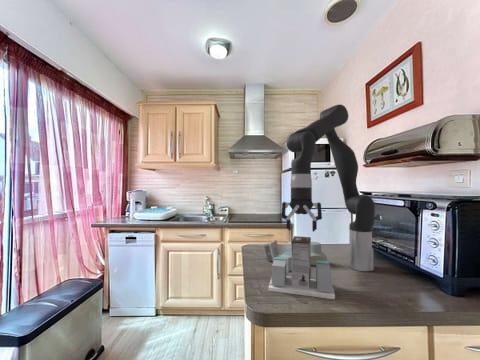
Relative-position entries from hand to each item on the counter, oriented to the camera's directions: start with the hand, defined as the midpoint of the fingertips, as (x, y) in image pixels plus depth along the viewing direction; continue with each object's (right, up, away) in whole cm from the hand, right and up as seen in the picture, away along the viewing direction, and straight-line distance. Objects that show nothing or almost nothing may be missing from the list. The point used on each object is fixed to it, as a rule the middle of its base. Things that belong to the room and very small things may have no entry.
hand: (301, 230), depth 86 cm
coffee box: (0, -19, 0) cm, 19 cm away
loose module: (-1, -21, +19) cm, 29 cm away
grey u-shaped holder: (0, -21, 0) cm, 21 cm away
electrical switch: (-6, -22, +31) cm, 39 cm away
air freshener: (+13, -22, +26) cm, 37 cm away
